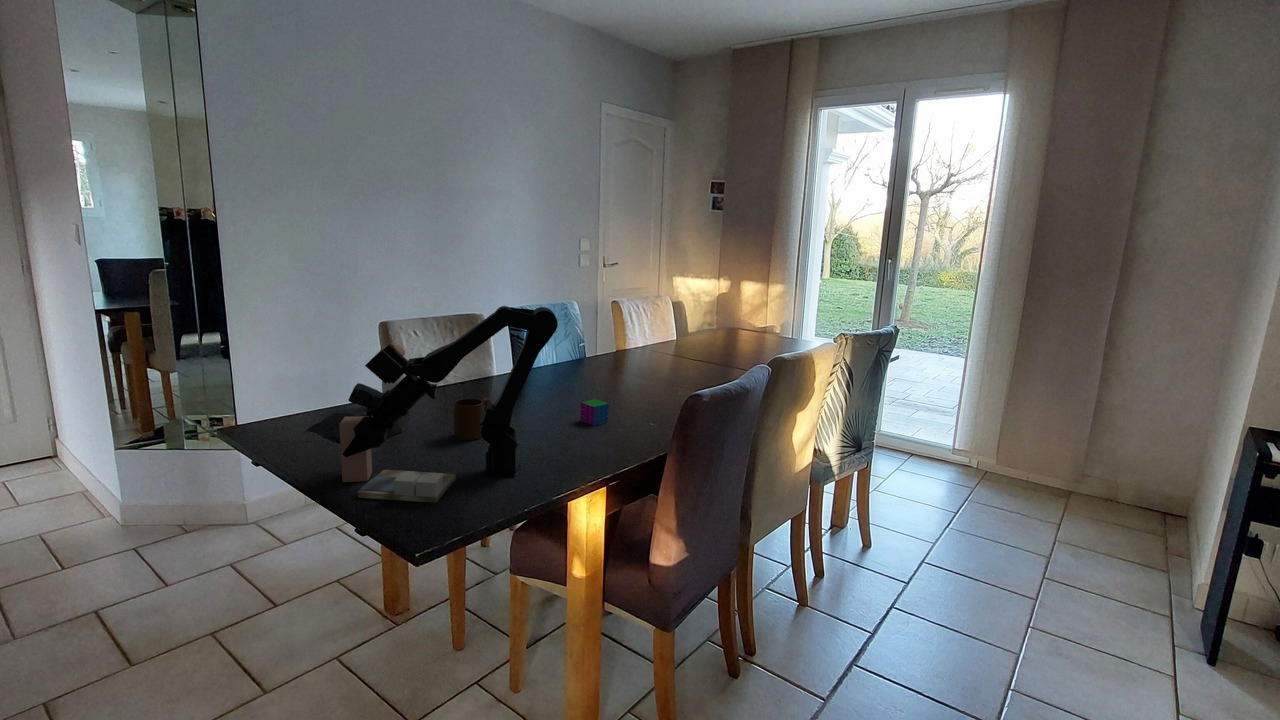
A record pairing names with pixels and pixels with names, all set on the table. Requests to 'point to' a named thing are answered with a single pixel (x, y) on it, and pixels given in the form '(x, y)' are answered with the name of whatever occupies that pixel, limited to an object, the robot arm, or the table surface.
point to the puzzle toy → (594, 412)
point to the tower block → (359, 463)
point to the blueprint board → (384, 487)
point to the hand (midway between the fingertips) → (349, 447)
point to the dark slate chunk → (332, 430)
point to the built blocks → (418, 484)
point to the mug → (468, 418)
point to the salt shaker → (392, 385)
